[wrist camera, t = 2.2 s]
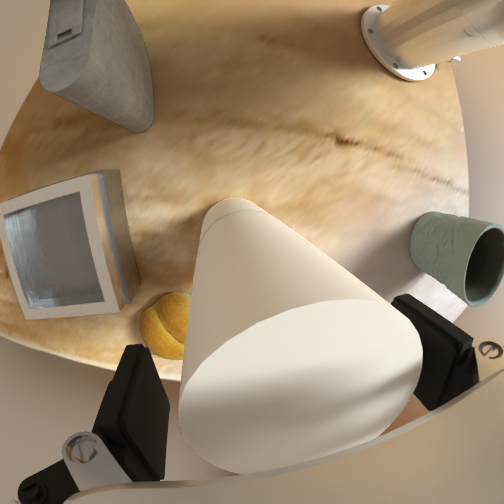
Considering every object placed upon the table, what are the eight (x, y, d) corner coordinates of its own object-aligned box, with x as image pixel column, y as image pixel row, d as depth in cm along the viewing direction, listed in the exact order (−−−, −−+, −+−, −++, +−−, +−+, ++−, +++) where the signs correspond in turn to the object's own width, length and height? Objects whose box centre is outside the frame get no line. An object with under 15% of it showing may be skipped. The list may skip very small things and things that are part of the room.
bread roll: (130, 319, 32) (122, 336, 28) (183, 277, 31) (179, 291, 27) (176, 362, 34) (173, 381, 30) (228, 326, 34) (231, 344, 30)
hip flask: (110, 24, 21) (42, -71, 2) (142, 13, 22) (96, -97, 3) (129, 137, 26) (13, 92, 7) (164, 124, 26) (89, 48, 7)
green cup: (457, 239, 36) (513, 261, 24) (422, 288, 37) (475, 322, 25) (432, 191, 33) (497, 204, 21) (391, 244, 34) (454, 275, 22)
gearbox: (119, 170, 27) (92, 169, 20) (141, 284, 30) (124, 314, 23) (14, 201, 25) (-23, 210, 18) (37, 297, 29) (9, 323, 22)
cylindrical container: (199, 259, 31) (184, 478, 7) (204, 194, 29) (174, 290, 5) (263, 264, 32) (372, 457, 8) (271, 201, 30) (454, 297, 6)
